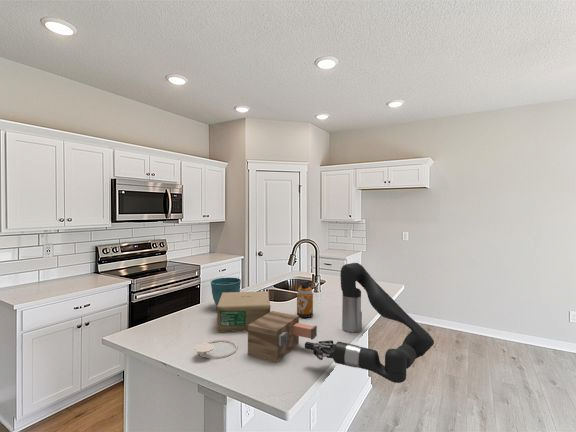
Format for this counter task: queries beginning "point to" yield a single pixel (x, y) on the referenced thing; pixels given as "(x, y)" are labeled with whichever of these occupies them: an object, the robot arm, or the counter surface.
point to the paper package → (241, 309)
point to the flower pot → (224, 287)
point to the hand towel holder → (208, 347)
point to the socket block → (271, 335)
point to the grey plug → (283, 339)
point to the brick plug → (304, 330)
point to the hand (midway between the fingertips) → (305, 344)
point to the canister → (305, 300)
